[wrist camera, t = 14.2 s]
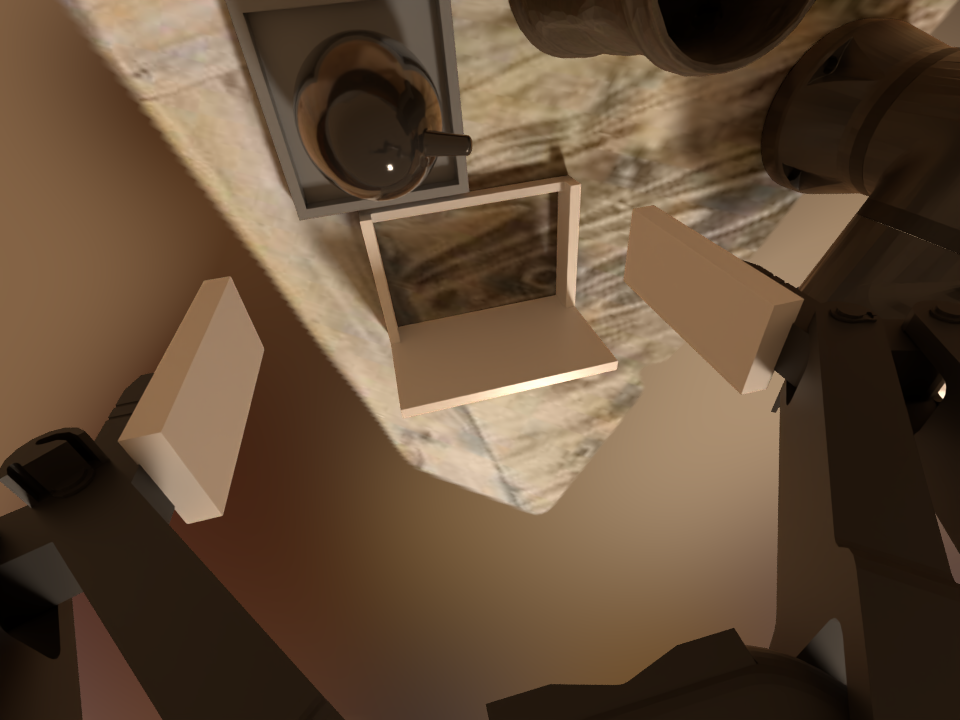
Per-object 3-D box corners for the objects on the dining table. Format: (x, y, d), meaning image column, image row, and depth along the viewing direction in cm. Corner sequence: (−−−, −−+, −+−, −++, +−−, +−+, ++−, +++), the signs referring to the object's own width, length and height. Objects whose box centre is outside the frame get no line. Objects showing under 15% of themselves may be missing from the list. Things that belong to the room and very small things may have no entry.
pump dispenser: (436, 172, 40) (477, 239, 28) (312, 178, 38) (300, 253, 26) (431, 28, 34) (479, 37, 22) (282, 26, 32) (248, 35, 20)
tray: (442, -23, 33) (448, -24, 31) (463, 184, 42) (469, 192, 40) (231, -1, 31) (224, -2, 29) (301, 211, 40) (299, 220, 38)
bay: (568, 175, 44) (636, 223, 34) (564, 300, 52) (616, 369, 42) (358, 209, 41) (364, 273, 31) (390, 336, 50) (403, 418, 40)
